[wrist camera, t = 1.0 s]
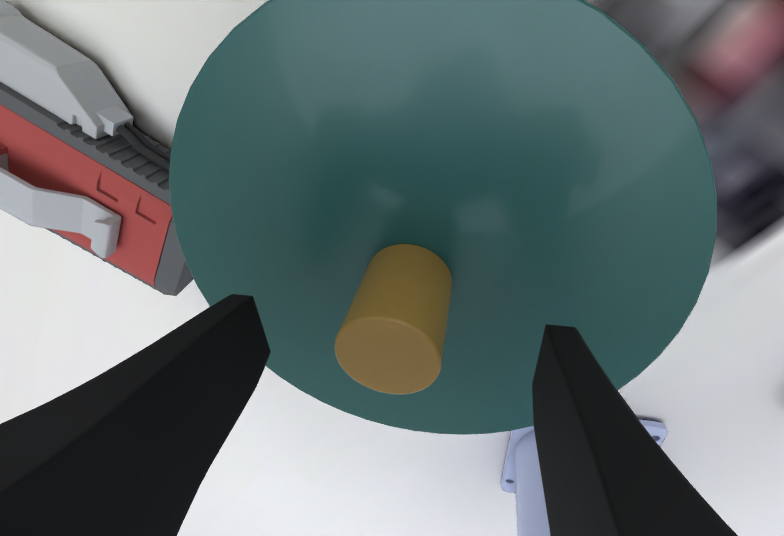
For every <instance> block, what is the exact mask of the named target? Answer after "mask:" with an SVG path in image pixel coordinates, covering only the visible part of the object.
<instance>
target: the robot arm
mask: <svg viewBox="0 0 784 536" xmlns="http://www.w3.org/2000/svg"><path fill="white" fill-rule="evenodd" d="M270 353H271V351H270V348H269V344H268V341H267V338H266V335H265V332H264V329H263V326H262V322H261V319H260V316H259V313H258V310H257V307H256V303H255V300H254V297H253V296H248V295H238V294H231V295H229V296H227V297H226V298H224V299H222V300H220V301H219V302H217V303H216V304H214V305H212V306H211V307H209V308H208V309H206V310H204V311H203V312H201V313H200V314H198V315H197V316H195V317H193V318H192V319H190V320H189V321H187V322H186V323H184V324H183V325H181V326H179V327H178V328H176V329H175V330H173V331H172V332H170V333H168V334H167V335H165V336H164V337H162V338H160V339H159V340H157V341H156V342H154V343H153V344H151V345H149V346H148V347H146V348H144V349H143V350H141V351H139V352H138V353H136V354H134V355H133V356H131V357H129V358H128V359H126V360H124V361H123V362H121V363H119V364H117V365H116V366H114V367H112V368H111V369H109V370H107V371H106V372H104V373H102V374H100V375H99V376H97V377H95V378H93V379H91V380H90V381H88V382H86V383H84V384H82V385H80V386H78V387H77V388H75V389H73V390H71V391H69V392H67V393H65V394H63V395H61V396H59V397H57V398H55V399H53V400H51V401H49V402H47V403H45V404H43V405H41V406H39V407H37V408H35V409H32V410H30V411H28V412H26V413H24V414H21V415H19V416H17V417H15V418H13V419H10V420H8V421H6V422H4V423H2V424H0V536H177V534H178V532H179V529H180V527H181V525H182V523H183V520H184V518H185V516H186V514H187V512H188V510H189V508H190V505H191V503H192V501H193V499H194V497H195V495H196V493H197V490H198V488H199V486H200V484H201V482H202V480H203V479H204V477H205V475H206V473H207V471H208V469H209V467H210V466H211V464H212V462H213V460H214V459H215V457H216V455H217V454H218V452H219V450H220V449H221V447H222V445H223V443H224V442H225V440H226V438H227V437H228V435H229V433H230V431H231V430H232V428H233V426H234V425H235V423H236V421H237V420H238V418H239V416H240V414H241V413H242V411H243V409H244V407H245V406H246V404H247V402H248V401H249V399H250V397H251V395H252V393H253V392H254V390H255V388H256V386H257V384H258V382H259V379H260V377H261V375H262V373H263V370H264V368H265V365H266V363H267V360H268V358H269V355H270ZM532 398H533V422H534V426H531V427H527V428H522V429H517V430H512V431H511V434H510V439H509V444H508V449H507V454H506V459H505V464H504V469H503V474H502V479H501V489H502V490H504V491H506V492H510V493H516V512H517V535H518V536H738V535H737V534H736V533H735V532H734V531H733V530H732V529H731V528H730V527H729V526H728V525H727V524H726V523H725V522H724V521H723V520H722V518H721V517H720V516H719V515H718V514H717V513H716V512H715V511H714V510H713V508H712V507H711V506H710V505H709V504H708V503H707V502H706V501H705V500H704V498H703V497H702V496H701V495H700V494H699V493H698V492H697V491H696V489H695V488H694V487H693V486H692V485H691V484H690V483H689V481H688V480H687V479H686V478H685V477H684V475H683V474H682V473H681V472H680V471H679V470H678V468H677V467H676V466H675V465H674V464H673V462H672V461H671V460H670V459H669V457H668V456H667V455H666V454H665V452H664V451H663V450H662V449H661V447H660V446H661V444H662V442H663V441H664V439H665V437H666V435H667V434H668V431H667V428H666V426H665V425H664V424H663V423H660V422H655V421H648V420H640V419H638V418H637V417H636V415H635V414H634V412H633V411H632V410H631V408H630V407H629V406H628V404H627V403H626V401H625V400H624V399H623V397H622V396H621V395H620V393H619V392H618V390H617V389H616V388H615V386H614V385H613V383H612V382H611V380H610V379H609V377H608V376H607V374H606V373H605V371H604V370H603V369H602V367H601V366H600V364H599V363H598V361H597V359H596V358H595V356H594V355H593V353H592V352H591V350H590V349H589V347H588V345H587V344H586V342H585V341H584V339H583V337H582V336H581V334H580V333H579V331H578V330H577V329H576V328H575V327H570V326H560V325H549V324H546V325H545V330H544V334H543V338H542V343H541V347H540V352H539V356H538V360H537V365H536V369H535V374H534V378H533V382H532Z"/></svg>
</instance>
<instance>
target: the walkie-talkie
mask: <svg viewBox="0 0 784 536" xmlns="http://www.w3.org/2000/svg"><path fill="white" fill-rule="evenodd" d="M132 124H133V116H132V115H131V113H130V112H129V110H128V109H127V108H126V106H125V105H124V103H123V102H122V100H121V99H120V97H119V96H118V94H117V93H116V91H115V90H114V89H113V87H112V86H111V84H110V83H109V81H108V80H107V78H106V77H105V75H104V74H103V72H102V71H101V70H100V68H99V67H98V65H97V64H95V63H94V62H93V61H92V60H91V59H89V58H87V57H86V56H84V55H83V54H81V53H80V52H78V51H77V50H75V49H73V48H72V47H70V46H69V45H67V44H66V43H64V42H62V41H61V40H59V39H58V38H56V37H55V36H53V35H52V34H50V33H48V32H47V31H45V30H44V29H42V28H41V27H39V26H37V25H36V24H34V23H33V22H31V21H30V20H28V19H27V18H25V17H24V16H23V15H22V14H21V12H20V11H19V10H18V9H17V8H15V7H14V6H12V5H11V4H9V3H7V2H6V1H4V0H0V209H1V210H3V211H5V212H7V213H8V214H10V215H12V216H14V217H16V218H17V219H19V220H21V221H23V222H25V223H26V224H28V225H30V226H34V227H42V228H45V229H47V230H49V231H51V232H53V233H55V234H57V235H59V236H61V237H62V238H64V239H66V240H68V241H70V242H71V243H73V244H74V245H77V246H79V247H81V248H82V249H83V250H85V251H88V252H90V253H91V254H93V255H94V256H97V257H99V258H100V259H102V260H103V261H105V262H108V263H109V264H111V265H113V266H114V267H116V268H118V269H120V270H122V271H123V272H125V273H127V274H129V275H131V276H133V277H134V278H136V279H138V280H140V281H142V282H143V283H144V284H147V285H149V286H151V287H152V288H153V289H155V290H158V291H160V292H161V293H163V294H165V295H173V296H177V295H178V294H179V293H180V292H181V291H182V290H183V289H184V288H185V287H186V286H187V285H188V284H189V283H190V282H191V281H192V280H193V279H194V278H193V276H192V274H191V272H190V270H189V267H188V265H187V263H186V261H185V258H184V255H183V252H182V250H181V247H180V244H179V241H178V238H177V234H176V230H175V225H174V220H173V216H172V211H171V202H170V189H169V170H170V155H171V150H170V149H168V148H165V147H164V146H162V145H161V144H160V143H158V142H156V141H154V140H152V139H151V138H150V137H149V136H147V135H144V134H143V133H141V132H140V131H139V130H138V129H137V128H135V127H134V126H133V125H132Z"/></svg>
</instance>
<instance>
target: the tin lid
mask: <svg viewBox="0 0 784 536" xmlns="http://www.w3.org/2000/svg"><path fill="white" fill-rule="evenodd" d="M169 189H170V202H171V211H172V216H173V220H174V225H175V230H176V234H177V238H178V241H179V244H180V247H181V250H182V252H183V255H184V258H185V261H186V263H187V265H188V267H189V270H190V272H191V274H192V276H193V278H194V280H195V282H196V284H197V286H198V288H199V289H200V291H201V293H202V294H203V296H204V297H205V299H206V301H207V302H208V304H209V306H210V307H211V306H212V305H214V304H216V303H217V302H219V301H220V300H222V299H224V298H226V297H227V296H229V295H231V294H238V295H248V296H253V297H254V300H255V303H256V307H257V310H258V313H259V316H260V319H261V322H262V326H263V329H264V332H265V335H266V338H267V341H268V344H269V348H270V351H271V353H270V355H269V358H268V360H267V363H266V365H265V366H267V367H268V368H269V369H270V370H272V371H273V372H274V373H276V374H277V375H278V376H280V377H281V378H283V379H284V380H286V381H287V382H289V383H290V384H292V385H293V386H295V387H296V388H298V389H300V390H301V391H303V392H305V393H307V394H309V395H310V396H312V397H314V398H316V399H318V400H320V401H322V402H324V403H326V404H328V405H331V406H333V407H335V408H337V409H340V410H342V411H344V412H347V413H350V414H352V415H355V416H358V417H361V418H364V419H366V420H370V421H374V422H377V423H381V424H385V425H388V426H393V427H398V428H403V429H408V430H413V431H421V432H430V433H439V434H486V433H496V432H504V431H512V430H517V429H522V428H527V427H531V426H534V422H533V398H532V382H533V378H534V374H535V369H536V365H537V360H538V356H539V352H540V347H541V343H542V338H543V334H544V330H545V325H546V324H549V325H560V326H570V327H575V328H576V329H577V330H578V331H579V333H580V334H581V336H582V337H583V339H584V341H585V342H586V344H587V345H588V347H589V349H590V350H591V352H592V353H593V355H594V356H595V358H596V359H597V361H598V363H599V364H600V366H601V367H602V369H603V370H604V371H605V373H606V374H607V376H608V377H609V379H610V380H611V382H612V383H613V385H614V386H615V388H616V389H617V390H619V389H620V388H621V387H623V386H624V385H626V384H627V383H628V382H630V381H631V380H632V379H634V378H635V377H637V376H638V375H639V374H640V373H641V372H642V371H643V370H645V369H646V368H647V367H648V366H649V365H650V364H651V363H652V362H653V361H654V360H655V359H656V358H657V357H658V356H660V355H661V353H662V352H663V351H664V350H665V348H666V347H667V346H668V345H669V344H670V342H671V341H672V340H673V339H674V337H675V336H676V335H677V334H678V332H679V331H680V330H681V328H682V326H683V325H684V323H685V321H686V320H687V318H688V316H689V315H690V313H691V311H692V310H693V308H694V306H695V304H696V303H697V300H698V298H699V295H700V292H701V290H702V287H703V285H704V282H705V280H706V277H707V275H708V272H709V268H710V263H711V258H712V253H713V249H714V244H715V239H716V217H717V196H716V189H715V183H714V177H713V170H712V164H711V159H710V156H709V153H708V150H707V147H706V145H705V142H704V139H703V136H702V133H701V131H700V128H699V125H698V122H697V120H696V118H695V116H694V114H693V112H692V111H691V109H690V107H689V106H688V104H687V102H686V100H685V99H684V97H683V95H682V94H681V92H680V90H679V88H678V87H677V85H676V83H675V82H674V80H673V79H672V77H671V76H670V75H669V74H668V73H667V72H666V70H665V69H664V68H663V67H662V66H661V65H660V63H659V62H658V61H657V60H656V59H655V58H654V57H653V55H652V54H651V53H650V52H649V51H648V50H647V48H646V47H645V46H644V45H643V44H642V43H641V42H640V41H639V40H638V39H637V38H635V37H634V36H633V35H632V34H630V33H629V32H628V31H627V30H625V29H624V28H623V27H622V26H620V25H619V24H618V23H617V22H616V21H614V20H613V19H612V18H611V17H609V16H608V15H607V14H606V13H604V12H603V11H602V10H600V9H599V8H597V7H595V6H593V5H591V4H590V3H588V2H586V1H584V0H269V1H267V2H265V3H264V4H263V5H262V6H260V7H259V8H258V9H257V10H255V11H254V12H253V13H252V14H251V15H249V16H248V17H247V18H246V19H244V20H243V21H242V22H241V23H239V24H238V25H237V26H236V27H234V28H233V30H232V31H231V32H230V33H229V34H228V35H227V36H226V38H225V39H224V40H223V41H222V42H221V43H220V44H219V46H218V47H217V48H216V49H215V50H214V51H213V52H212V54H211V55H210V56H209V57H208V59H207V61H206V62H205V64H204V66H203V67H202V69H201V70H200V72H199V74H198V75H197V77H196V79H195V80H194V82H193V84H192V85H191V87H190V89H189V92H188V94H187V97H186V99H185V102H184V104H183V107H182V109H181V112H180V114H179V117H178V120H177V124H176V129H175V133H174V138H173V142H172V147H171V155H170V170H169Z"/></svg>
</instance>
